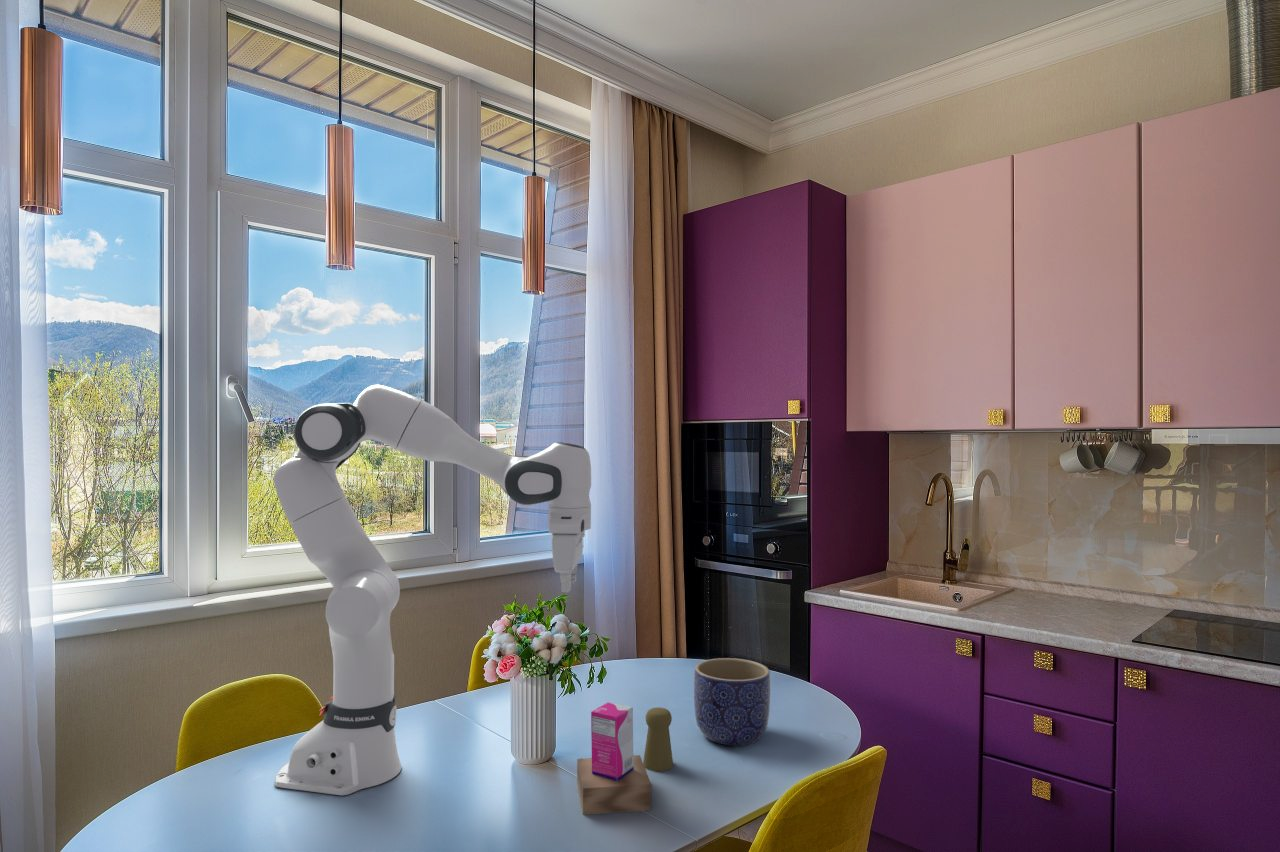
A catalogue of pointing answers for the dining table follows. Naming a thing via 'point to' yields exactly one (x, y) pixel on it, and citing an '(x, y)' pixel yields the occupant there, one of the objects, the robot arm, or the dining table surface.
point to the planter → (732, 700)
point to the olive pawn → (658, 740)
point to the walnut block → (613, 789)
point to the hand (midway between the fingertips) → (568, 587)
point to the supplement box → (612, 741)
